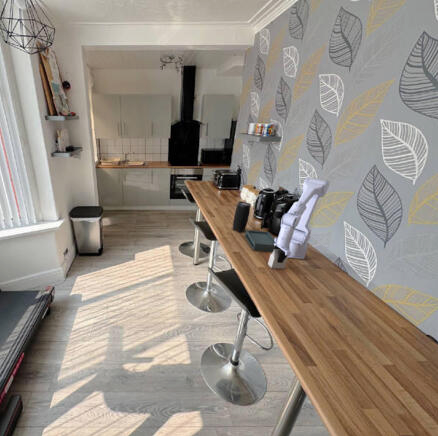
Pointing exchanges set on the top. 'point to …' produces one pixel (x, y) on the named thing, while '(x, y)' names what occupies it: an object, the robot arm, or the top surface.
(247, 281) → the top surface
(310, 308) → the top surface
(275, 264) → the light grey block
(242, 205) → the portable speaker
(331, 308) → the top surface
